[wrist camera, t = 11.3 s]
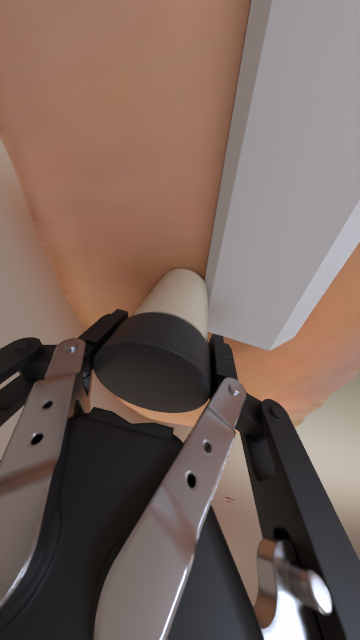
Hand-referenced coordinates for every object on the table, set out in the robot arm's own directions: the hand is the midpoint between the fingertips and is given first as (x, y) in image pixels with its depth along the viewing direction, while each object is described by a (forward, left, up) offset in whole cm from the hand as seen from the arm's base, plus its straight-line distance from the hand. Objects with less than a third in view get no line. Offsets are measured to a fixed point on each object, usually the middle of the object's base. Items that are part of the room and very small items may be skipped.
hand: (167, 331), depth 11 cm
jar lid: (0, 0, +4) cm, 4 cm away
